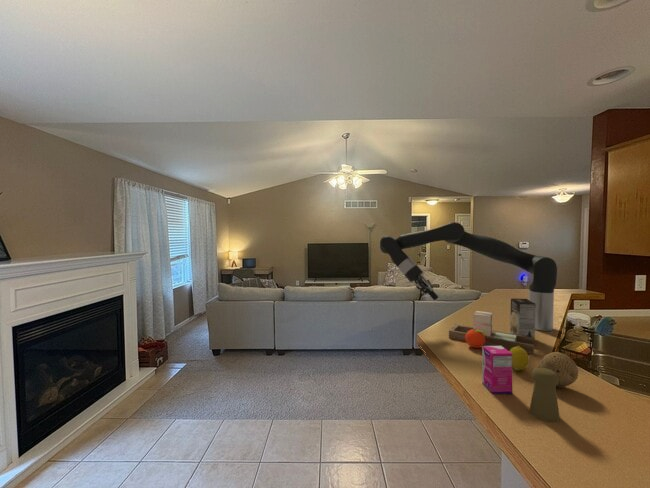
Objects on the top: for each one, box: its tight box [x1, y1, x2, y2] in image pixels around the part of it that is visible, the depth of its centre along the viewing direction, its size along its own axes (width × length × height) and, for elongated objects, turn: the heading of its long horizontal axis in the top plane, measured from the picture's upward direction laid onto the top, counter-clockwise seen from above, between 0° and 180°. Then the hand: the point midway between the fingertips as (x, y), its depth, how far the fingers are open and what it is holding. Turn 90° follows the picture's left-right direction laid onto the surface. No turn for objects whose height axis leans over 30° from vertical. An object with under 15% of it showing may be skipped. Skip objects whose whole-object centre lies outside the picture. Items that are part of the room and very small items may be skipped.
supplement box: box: [481, 345, 513, 395], centre depth 86 cm, size 6×6×12 cm
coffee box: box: [509, 297, 536, 337], centre depth 127 cm, size 9×6×16 cm
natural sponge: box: [538, 351, 579, 389], centre depth 87 cm, size 9×9×10 cm
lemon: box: [508, 346, 530, 372], centre depth 97 cm, size 6×6×8 cm
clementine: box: [465, 329, 487, 349], centre depth 117 cm, size 8×7×7 cm
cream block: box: [473, 310, 493, 336], centre depth 125 cm, size 6×6×8 cm
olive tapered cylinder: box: [528, 367, 561, 423], centre depth 74 cm, size 6×6×11 cm
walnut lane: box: [448, 324, 536, 355], centre depth 124 cm, size 11×30×3 cm, turn 54°
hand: (436, 298), depth 136 cm, fingers closed
